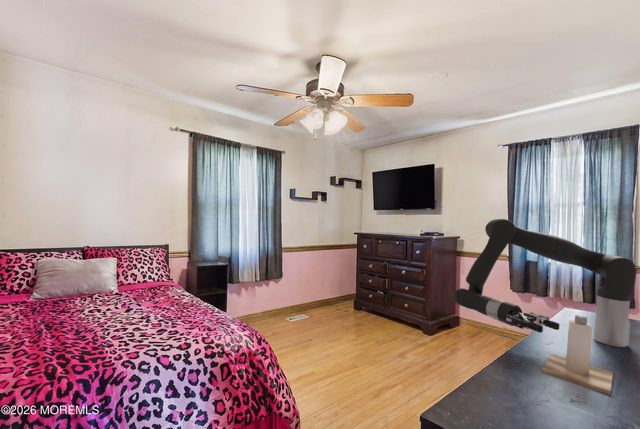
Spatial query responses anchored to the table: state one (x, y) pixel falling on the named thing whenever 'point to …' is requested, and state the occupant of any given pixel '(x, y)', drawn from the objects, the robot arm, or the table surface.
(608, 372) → the oak board
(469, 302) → the robot arm
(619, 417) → the table surface
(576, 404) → the table surface
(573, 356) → the lotion bottle
